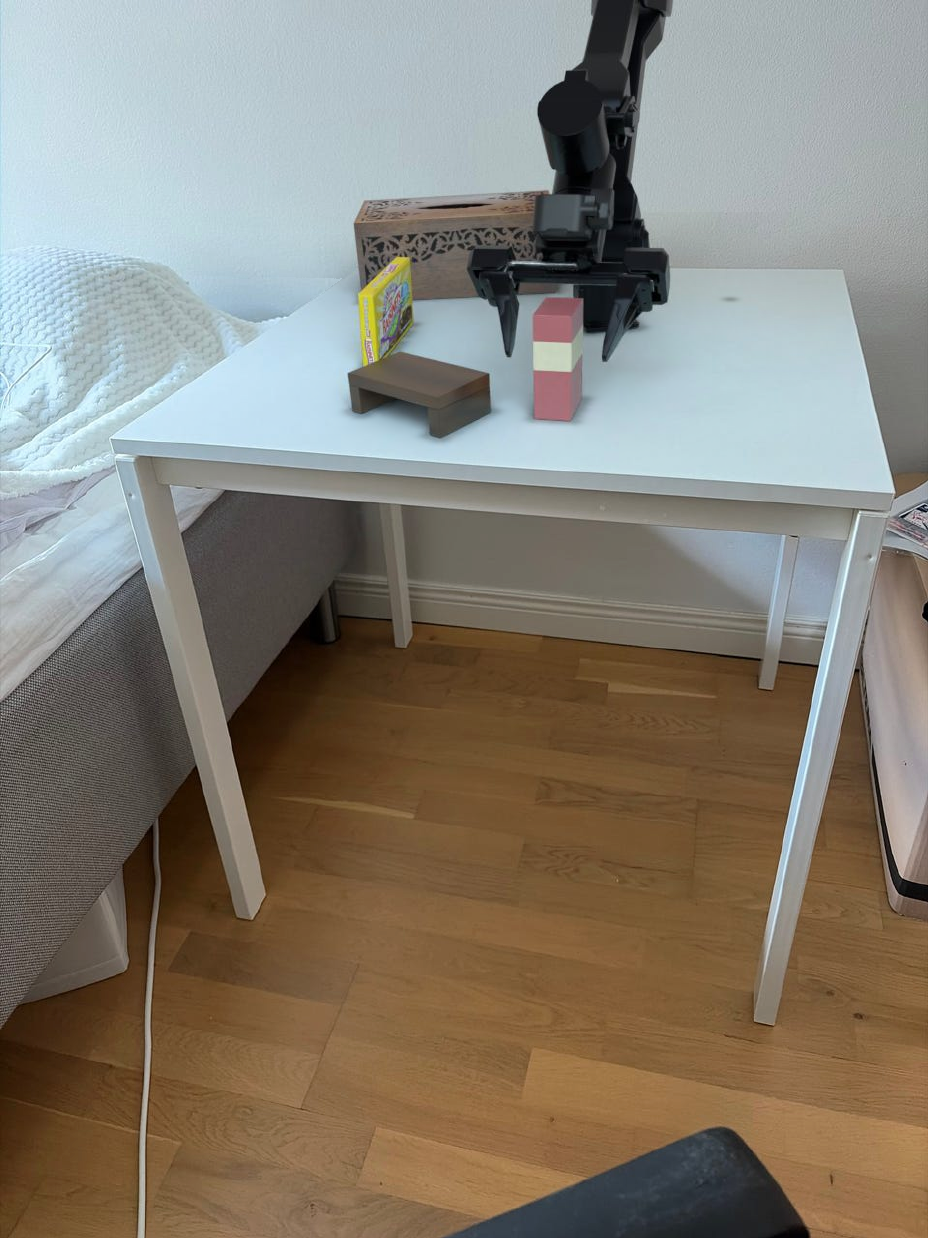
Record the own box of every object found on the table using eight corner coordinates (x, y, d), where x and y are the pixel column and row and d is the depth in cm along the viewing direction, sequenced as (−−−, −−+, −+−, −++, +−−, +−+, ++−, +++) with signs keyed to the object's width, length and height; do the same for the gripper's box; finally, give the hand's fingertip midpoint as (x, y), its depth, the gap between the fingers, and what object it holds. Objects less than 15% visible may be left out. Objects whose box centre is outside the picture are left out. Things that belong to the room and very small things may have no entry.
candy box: (381, 370, 106) (372, 294, 101) (362, 370, 106) (353, 294, 102) (416, 324, 119) (410, 255, 114) (399, 324, 119) (393, 255, 115)
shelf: (403, 388, 101) (399, 350, 99) (491, 412, 94) (489, 372, 92) (352, 411, 96) (347, 372, 94) (440, 438, 90) (437, 397, 87)
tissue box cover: (548, 264, 139) (548, 189, 133) (555, 292, 127) (555, 211, 121) (372, 273, 140) (364, 200, 134) (362, 302, 128) (353, 223, 122)
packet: (546, 397, 97) (545, 296, 91) (582, 399, 96) (583, 297, 90) (533, 418, 92) (532, 314, 87) (571, 421, 91) (571, 316, 86)
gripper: (466, 152, 87) (437, 311, 85) (675, 150, 82) (650, 319, 80) (492, 224, 98) (467, 367, 95) (678, 226, 93) (657, 377, 90)
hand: (555, 357), depth 90 cm, fingers open, 9 cm apart
